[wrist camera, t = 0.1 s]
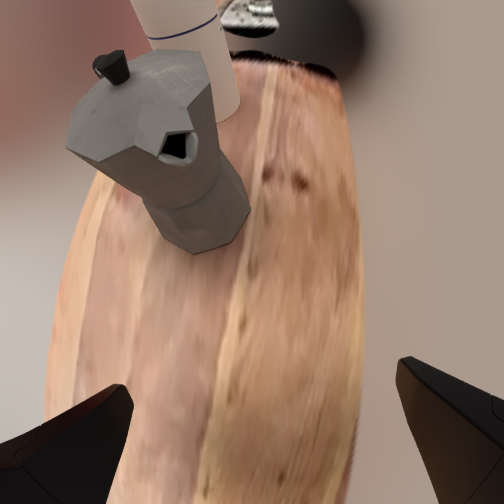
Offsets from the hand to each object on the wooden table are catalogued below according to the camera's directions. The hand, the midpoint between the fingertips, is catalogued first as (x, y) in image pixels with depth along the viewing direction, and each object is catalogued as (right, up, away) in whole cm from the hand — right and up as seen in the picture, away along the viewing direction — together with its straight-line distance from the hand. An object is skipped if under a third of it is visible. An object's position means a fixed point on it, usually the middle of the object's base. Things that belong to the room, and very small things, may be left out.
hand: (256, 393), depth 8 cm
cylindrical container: (-5, +22, +24) cm, 33 cm away
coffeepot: (-5, +9, +20) cm, 22 cm away
